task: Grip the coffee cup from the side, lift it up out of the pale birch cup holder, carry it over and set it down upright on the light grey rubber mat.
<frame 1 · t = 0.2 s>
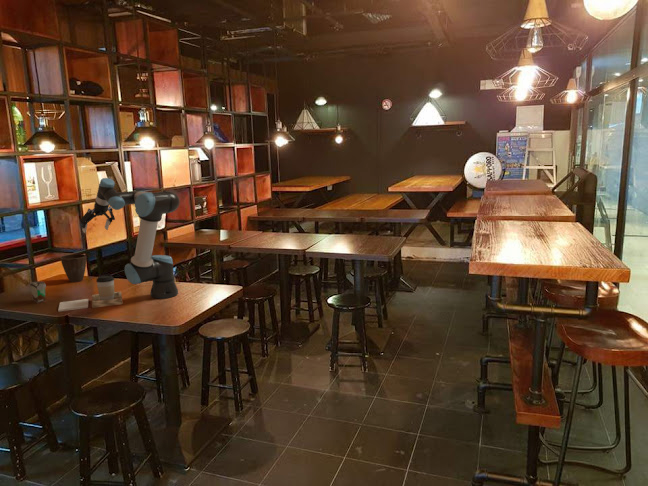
hand: (95, 230, 297), 35 cm above the table, tool tilted 35°, fingers open, 13 cm apart
grey mat: (73, 305, 267), on the table
food container: (41, 300, 277), on the table
plant pot: (76, 281, 317), on the table
cup holder: (107, 302, 273), on the table
coffee cup: (107, 302, 273), resting in cup holder
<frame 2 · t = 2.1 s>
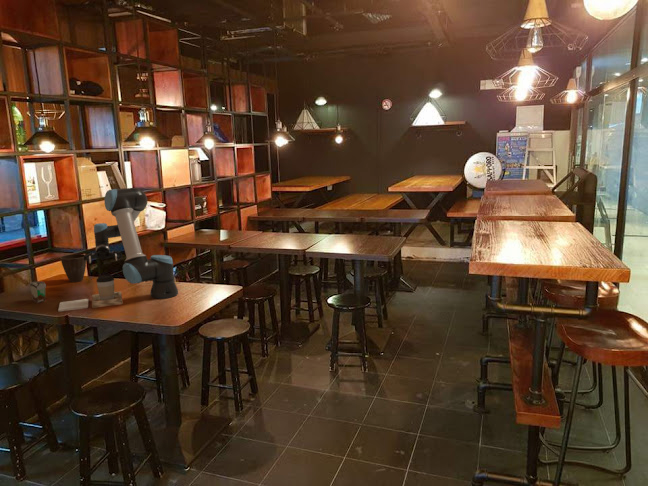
hand: (103, 259, 277), 22 cm above the table, tool horizontal, fingers open, 13 cm apart
nothing on the table moved.
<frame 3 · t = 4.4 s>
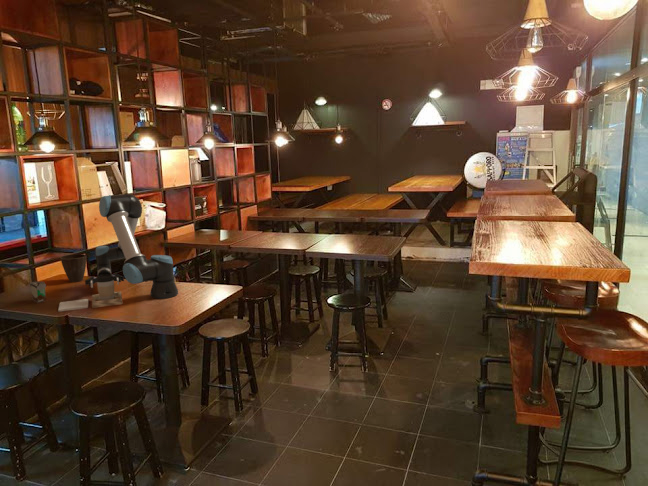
hand: (104, 284, 276), 9 cm above the table, tool horizontal, fingers open, 13 cm apart
nothing on the table moved.
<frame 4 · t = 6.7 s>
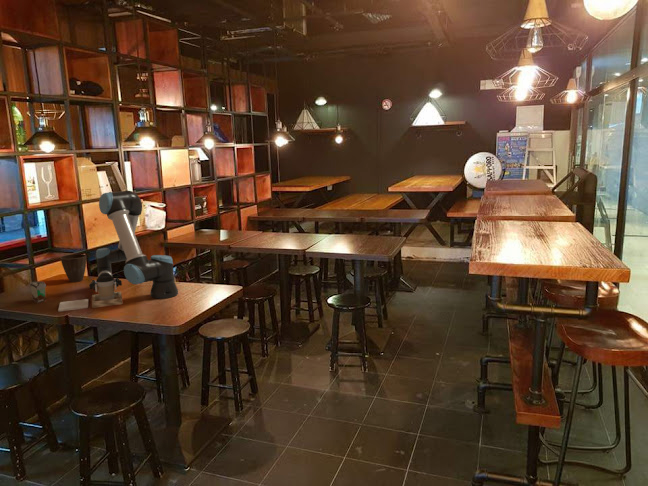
hand: (106, 288, 267), 9 cm above the table, tool horizontal, fingers closed on coffee cup, 9 cm apart
coffee cup: (107, 302, 273), resting in cup holder, touching gripper
everything else where it was.
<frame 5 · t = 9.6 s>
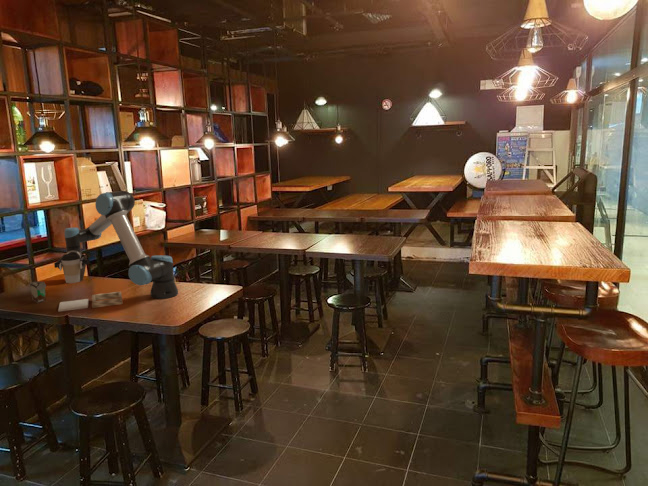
hand: (70, 267, 259), 22 cm above the table, tool horizontal, fingers closed on coffee cup, 9 cm apart
coffee cup: (73, 281, 265), point 13 cm above the table, touching gripper
everything else where it was.
when the fingers open (11 cm above the table, at t = 12.7 s): coffee cup drops 1 cm, resting on grey mat.
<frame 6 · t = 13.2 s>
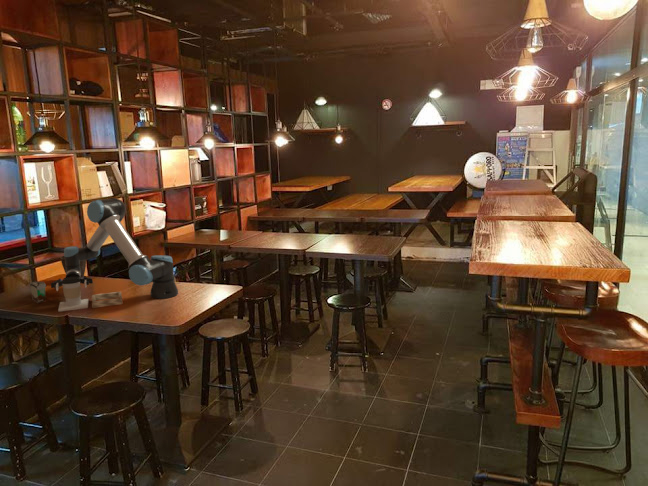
hand: (71, 286, 262), 11 cm above the table, tool horizontal, fingers open, 13 cm apart
coffee cup: (73, 304, 267), point 1 cm above the table, touching grey mat
everything else where it was.
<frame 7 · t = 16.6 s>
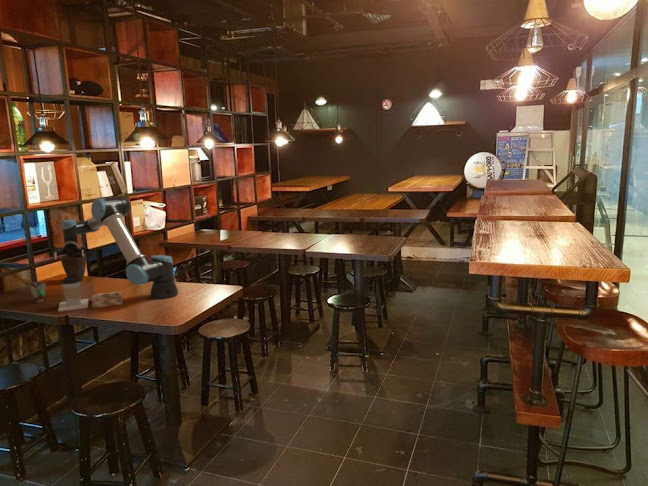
hand: (69, 255, 271), 26 cm above the table, tool horizontal, fingers open, 13 cm apart
nothing on the table moved.
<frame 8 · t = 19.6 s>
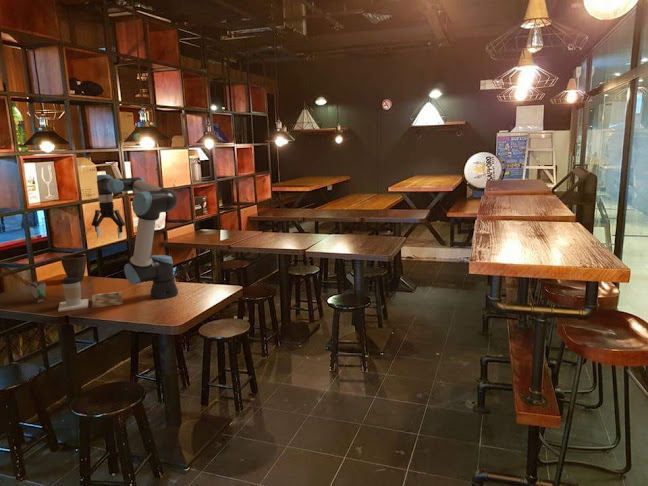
hand: (109, 237, 290), 32 cm above the table, tool pointing down, fingers open, 13 cm apart
nothing on the table moved.
at the end: coffee cup inside the target area on the grey mat (0.1 cm from its centre), point 0.8 cm above the grey mat's base; coffee cup tilted 0°; the gripper is holding nothing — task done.
